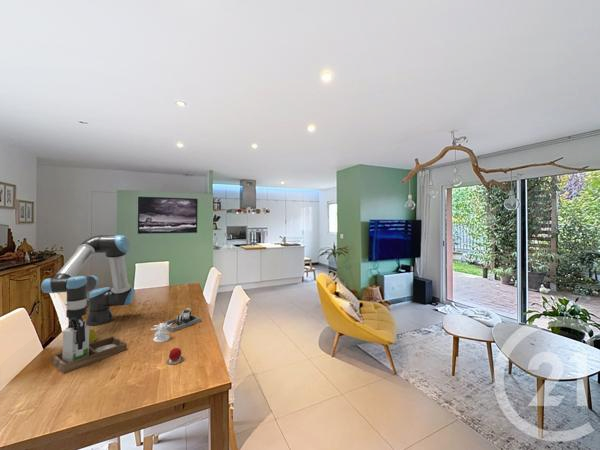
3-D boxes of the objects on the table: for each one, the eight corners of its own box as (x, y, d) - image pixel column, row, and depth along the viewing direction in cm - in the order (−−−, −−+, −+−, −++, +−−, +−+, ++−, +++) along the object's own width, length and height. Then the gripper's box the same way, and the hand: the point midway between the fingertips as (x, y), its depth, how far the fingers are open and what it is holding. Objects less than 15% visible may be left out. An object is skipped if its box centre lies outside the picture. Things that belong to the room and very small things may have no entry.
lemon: (93, 346, 141) (93, 332, 141) (75, 349, 137) (76, 335, 137) (99, 338, 151) (99, 325, 150) (82, 340, 147) (83, 327, 147)
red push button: (172, 367, 122) (172, 353, 122) (163, 361, 126) (163, 349, 126) (186, 359, 129) (187, 347, 129) (177, 355, 133) (178, 343, 133)
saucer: (91, 351, 133) (91, 348, 133) (111, 344, 141) (111, 341, 141) (99, 357, 128) (99, 353, 128) (120, 349, 136) (120, 346, 136)
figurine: (172, 334, 157) (172, 318, 157) (172, 340, 149) (172, 323, 149) (150, 338, 152) (150, 321, 152) (149, 344, 144) (149, 326, 144)
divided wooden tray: (52, 364, 122) (52, 355, 122) (113, 343, 144) (113, 335, 144) (63, 375, 114) (63, 365, 114) (126, 351, 136) (126, 343, 136)
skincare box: (71, 364, 119) (72, 332, 119) (61, 362, 121) (61, 330, 120) (89, 355, 127) (90, 325, 127) (79, 353, 129) (80, 323, 129)
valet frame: (160, 327, 168) (160, 323, 168) (188, 317, 186) (188, 314, 186) (172, 332, 161) (172, 328, 161) (200, 321, 178) (200, 318, 178)
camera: (178, 319, 182) (179, 305, 182) (191, 318, 185) (192, 305, 185) (175, 328, 167) (176, 313, 167) (189, 326, 170) (190, 312, 170)
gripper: (59, 306, 126) (59, 350, 126) (74, 314, 115) (74, 362, 115) (78, 302, 132) (78, 344, 133) (94, 309, 122) (93, 355, 122)
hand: (76, 353), depth 124 cm, fingers closed on skincare box, 8 cm apart
